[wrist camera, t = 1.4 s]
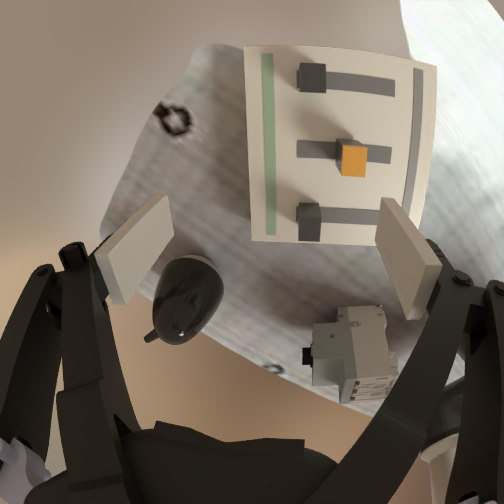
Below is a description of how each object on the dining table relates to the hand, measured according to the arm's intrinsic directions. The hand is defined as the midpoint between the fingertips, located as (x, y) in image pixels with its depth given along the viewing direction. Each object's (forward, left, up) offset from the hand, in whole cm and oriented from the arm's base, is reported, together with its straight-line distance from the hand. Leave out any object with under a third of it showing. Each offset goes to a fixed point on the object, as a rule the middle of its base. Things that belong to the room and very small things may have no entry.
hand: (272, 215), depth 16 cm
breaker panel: (-7, 0, -23) cm, 24 cm away
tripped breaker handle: (-7, 0, -17) cm, 19 cm away
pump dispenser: (+14, +21, -23) cm, 34 cm away
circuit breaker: (-11, +31, -23) cm, 40 cm away
